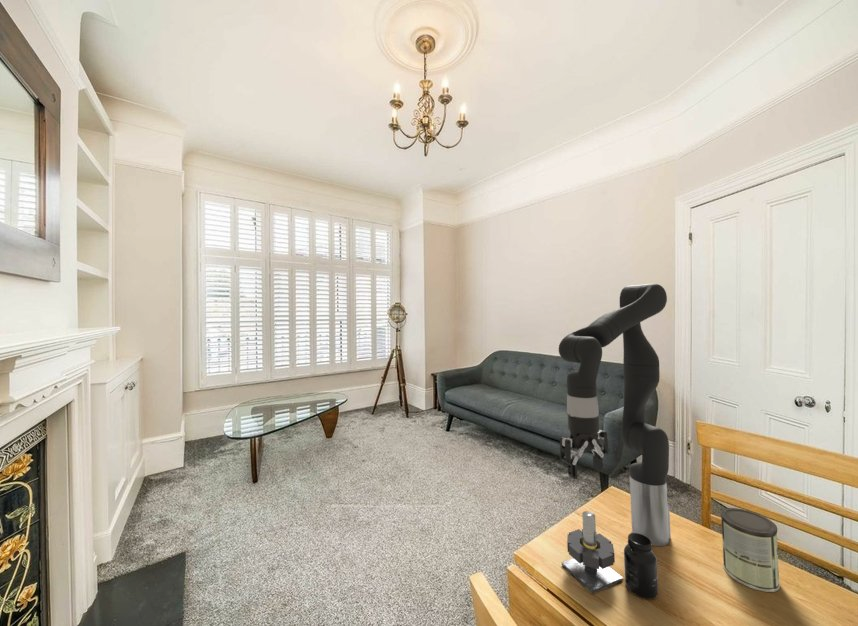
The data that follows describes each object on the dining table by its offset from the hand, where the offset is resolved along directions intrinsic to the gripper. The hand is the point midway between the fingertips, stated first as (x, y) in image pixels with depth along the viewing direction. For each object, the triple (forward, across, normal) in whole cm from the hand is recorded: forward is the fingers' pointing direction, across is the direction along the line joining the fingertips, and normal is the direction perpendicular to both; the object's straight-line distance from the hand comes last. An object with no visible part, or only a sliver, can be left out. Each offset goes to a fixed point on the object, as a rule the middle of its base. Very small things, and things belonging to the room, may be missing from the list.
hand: (585, 474), depth 87 cm
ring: (+20, 0, +1) cm, 20 cm away
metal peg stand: (+25, 0, +1) cm, 25 cm away
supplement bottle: (+26, -7, +9) cm, 28 cm away
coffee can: (+26, -35, +17) cm, 46 cm away
